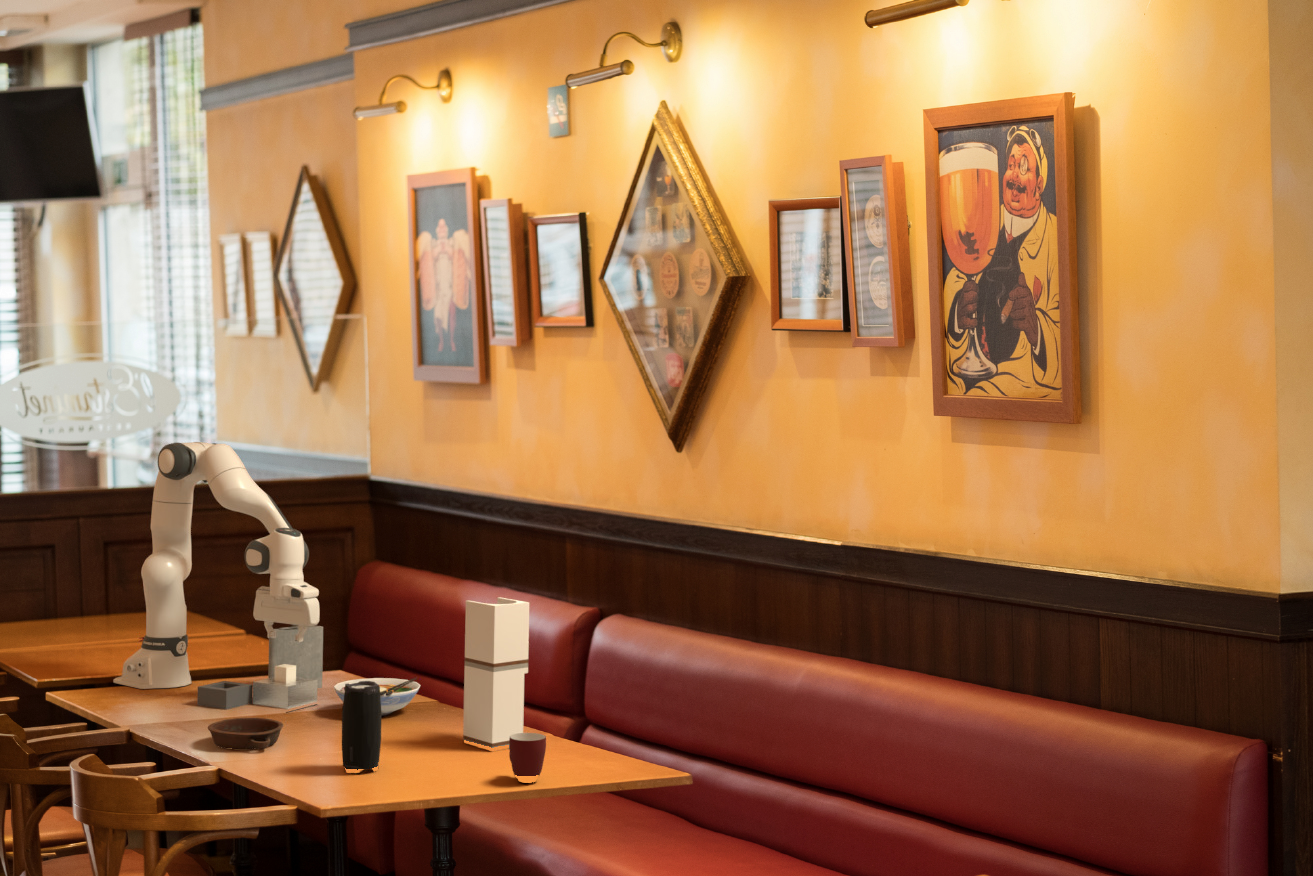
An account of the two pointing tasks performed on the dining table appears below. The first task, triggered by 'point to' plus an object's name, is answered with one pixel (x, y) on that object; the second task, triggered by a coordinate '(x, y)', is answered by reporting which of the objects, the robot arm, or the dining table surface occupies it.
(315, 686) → the port box
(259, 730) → the dish
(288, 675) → the plug
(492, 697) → the banded cream pillar
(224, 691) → the grey square socket block
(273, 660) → the hip flask
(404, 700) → the ramen bowl
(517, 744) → the mug
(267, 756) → the dining table surface
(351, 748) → the portable speaker
